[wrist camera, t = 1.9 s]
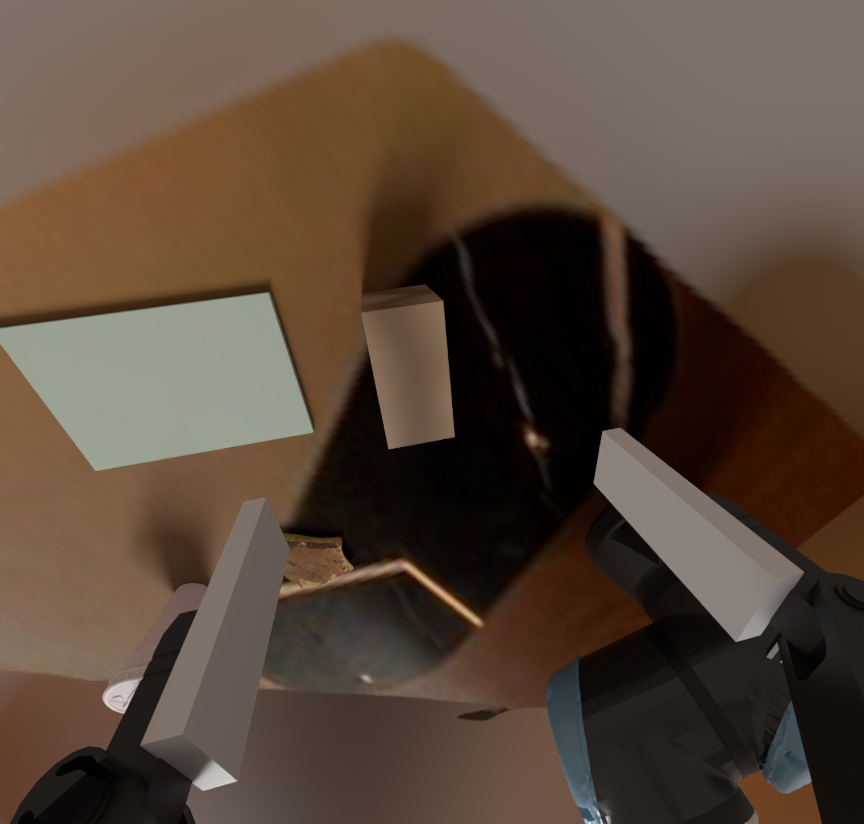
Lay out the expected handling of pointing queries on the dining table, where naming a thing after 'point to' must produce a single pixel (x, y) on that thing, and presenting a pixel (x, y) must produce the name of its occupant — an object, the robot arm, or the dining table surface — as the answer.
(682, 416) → the dining table surface
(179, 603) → the smoothie
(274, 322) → the felt mat
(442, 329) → the beige block
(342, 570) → the shard
